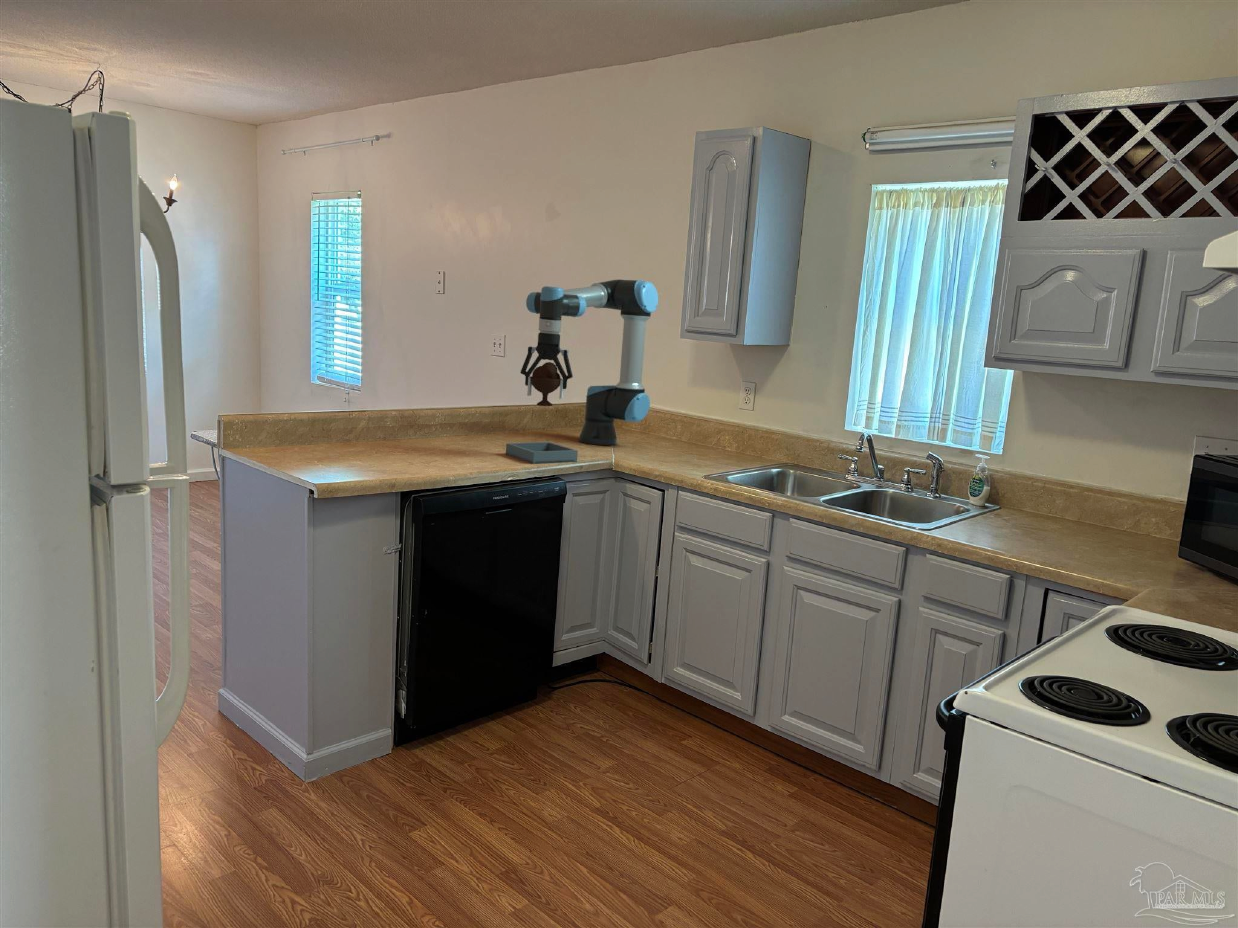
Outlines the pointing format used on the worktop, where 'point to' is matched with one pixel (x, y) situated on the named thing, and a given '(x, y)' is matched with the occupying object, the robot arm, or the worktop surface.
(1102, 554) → the worktop surface
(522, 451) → the charcoal bin
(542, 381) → the ice cream bowl
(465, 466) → the worktop surface
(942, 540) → the worktop surface
